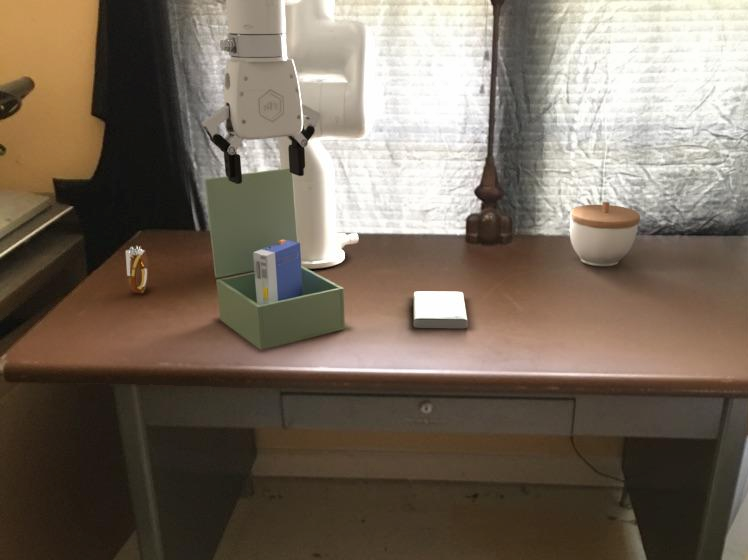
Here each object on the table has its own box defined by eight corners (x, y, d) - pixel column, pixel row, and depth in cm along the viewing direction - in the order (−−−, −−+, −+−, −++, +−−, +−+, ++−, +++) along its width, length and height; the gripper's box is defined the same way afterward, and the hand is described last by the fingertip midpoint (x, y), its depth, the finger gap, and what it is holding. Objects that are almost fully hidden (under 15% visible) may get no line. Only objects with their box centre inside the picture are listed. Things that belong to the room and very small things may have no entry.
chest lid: (292, 168, 130) (290, 167, 130) (205, 179, 122) (203, 178, 123) (298, 261, 136) (296, 261, 136) (216, 277, 129) (215, 277, 129)
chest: (344, 329, 129) (343, 288, 126) (261, 350, 122) (257, 307, 119) (299, 302, 139) (297, 263, 136) (219, 319, 132) (216, 279, 129)
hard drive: (467, 319, 129) (463, 290, 140) (413, 318, 129) (413, 290, 140) (467, 329, 130) (462, 300, 141) (413, 328, 130) (413, 299, 141)
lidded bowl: (642, 257, 162) (650, 200, 157) (620, 275, 152) (628, 214, 147) (580, 246, 168) (586, 191, 163) (555, 263, 158) (560, 204, 153)
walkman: (290, 311, 134) (285, 237, 128) (303, 315, 133) (300, 240, 127) (256, 327, 128) (250, 250, 123) (270, 330, 127) (265, 253, 121)
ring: (141, 300, 140) (135, 253, 136) (123, 299, 140) (116, 252, 136) (158, 286, 146) (152, 241, 142) (140, 285, 146) (134, 240, 142)
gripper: (208, 52, 105) (220, 190, 113) (328, 48, 114) (332, 176, 122) (185, 48, 111) (198, 180, 119) (302, 44, 120) (307, 167, 127)
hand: (266, 178), depth 120 cm, fingers open, 9 cm apart
